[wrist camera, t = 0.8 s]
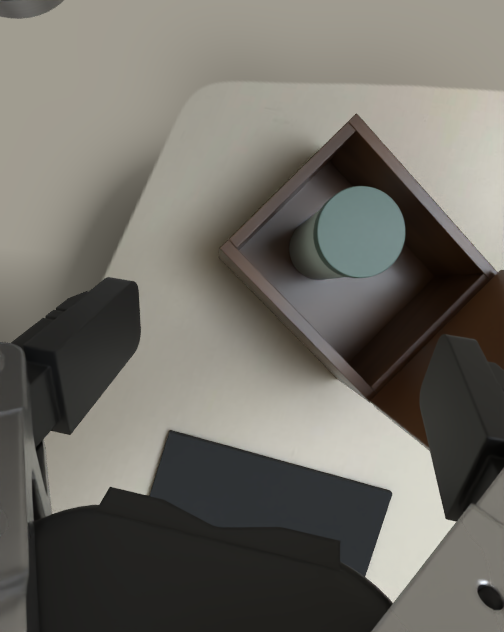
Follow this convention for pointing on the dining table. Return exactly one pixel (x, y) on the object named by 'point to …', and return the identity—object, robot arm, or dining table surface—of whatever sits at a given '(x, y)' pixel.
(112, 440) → the dining table surface
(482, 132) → the dining table surface
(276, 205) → the chest
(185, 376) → the dining table surface
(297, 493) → the mat
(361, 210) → the canister
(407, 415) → the chest lid
